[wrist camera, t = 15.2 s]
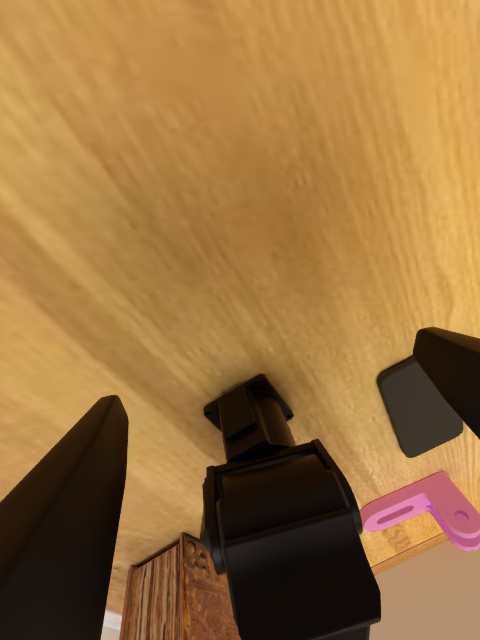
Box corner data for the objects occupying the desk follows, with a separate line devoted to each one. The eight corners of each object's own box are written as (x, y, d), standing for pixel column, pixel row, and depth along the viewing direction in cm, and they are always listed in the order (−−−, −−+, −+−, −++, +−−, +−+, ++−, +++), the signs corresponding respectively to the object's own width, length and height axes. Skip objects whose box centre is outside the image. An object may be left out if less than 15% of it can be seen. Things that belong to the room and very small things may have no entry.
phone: (451, 343, 27) (465, 433, 34) (444, 338, 27) (459, 427, 35) (378, 381, 27) (407, 461, 35) (373, 375, 28) (402, 455, 35)
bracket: (442, 470, 39) (490, 526, 33) (445, 489, 42) (489, 544, 36) (354, 509, 40) (385, 570, 34) (362, 525, 43) (392, 585, 37)
